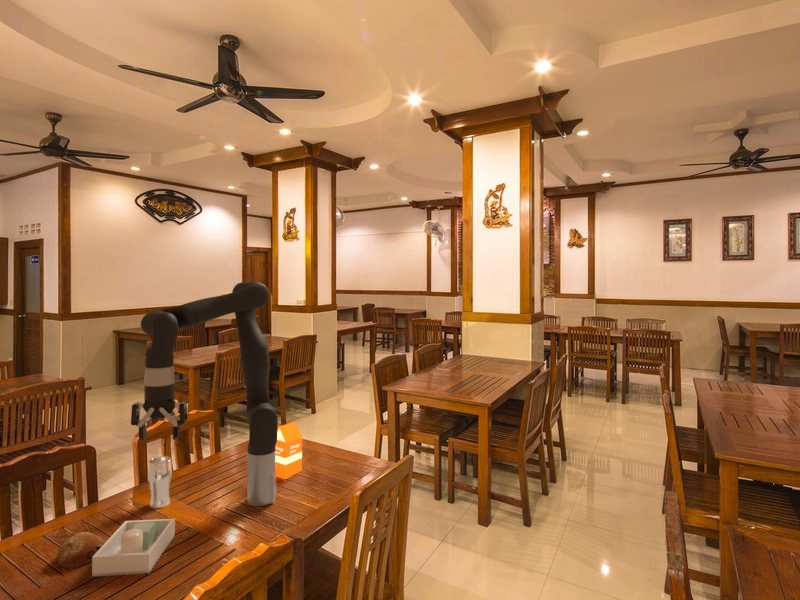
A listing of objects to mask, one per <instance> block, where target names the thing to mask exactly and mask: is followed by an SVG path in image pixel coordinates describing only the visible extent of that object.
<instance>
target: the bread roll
mask: <svg viewBox="0 0 800 600" xmlns="http://www.w3.org/2000/svg"><path fill="white" fill-rule="evenodd" d="M105 543H106V542H105V541H104V540H103V539H102V538H101V537H100V536H98V535H97V534H94V533H92V532H89V531H83V532H82V531H81V532H78V533H76V534H75V535H73V536H71V537H70V538H68V539H67V540H66V541H65V542H64V543H62V545H61V546H60V548H59V549H58V551H57V555H56V561H57V563H58V565H59V566H60V567H62V568H67V569H68V568H73V567H80V566H85V565H87V564H90V563H92V557H93V556H94V555H95V553H96V552H97V551H98V550H99V549H100V548H101V547H102V546H103V545H104V544H105Z"/></svg>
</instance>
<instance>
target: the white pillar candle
mask: <svg viewBox="0 0 800 600" xmlns="http://www.w3.org/2000/svg"><path fill="white" fill-rule="evenodd" d="M142 551H143V531H142V530H141V529H131V530H128V531H126V532H124V533H123V534H122V535H121V554H129V553H142Z"/></svg>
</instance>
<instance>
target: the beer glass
mask: <svg viewBox="0 0 800 600" xmlns="http://www.w3.org/2000/svg"><path fill="white" fill-rule="evenodd" d="M172 470H173V468H172V458H171V457H170V456H166V455H164V456H157V457H154V458H151V459H150V460H149V461H148V471H147V473H148V475H147V476H148V477H147V478H148V484H149V489H150V501H149V507H150V508H151V509H161V508H165V507H167V506H169V504H171V498H170V485H171V481H172V475H173V474H172V472H173V471H172Z"/></svg>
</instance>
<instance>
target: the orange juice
mask: <svg viewBox="0 0 800 600" xmlns="http://www.w3.org/2000/svg"><path fill="white" fill-rule="evenodd" d="M302 464H303V436H302V434H301V431H300V429H299V427H298V425H297V422H296V421H292V422H289V423H285V424H283V425H278V431H277V443H276V456H275V469H276V478H277V477H279V478H282V479H287V478H289V477H290V476H292V475H294V474H296V473H298V472H300V471H303V465H302ZM279 478H278V479H279ZM282 479H281V480H282Z"/></svg>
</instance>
